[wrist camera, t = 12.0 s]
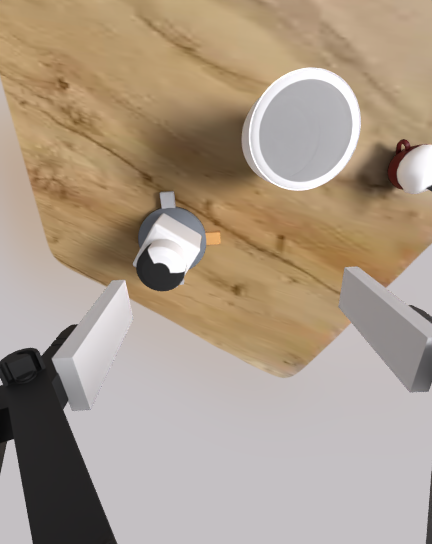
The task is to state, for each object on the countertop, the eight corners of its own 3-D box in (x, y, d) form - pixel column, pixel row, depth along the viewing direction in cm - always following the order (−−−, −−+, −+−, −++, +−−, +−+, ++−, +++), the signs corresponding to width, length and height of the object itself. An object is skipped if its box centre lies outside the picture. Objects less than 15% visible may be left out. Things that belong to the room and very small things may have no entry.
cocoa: (380, 143, 39) (441, 135, 28) (425, 132, 39) (506, 119, 28) (381, 207, 43) (436, 222, 32) (422, 197, 42) (493, 209, 31)
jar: (228, 170, 40) (237, 179, 26) (245, 90, 36) (266, 52, 22) (295, 185, 41) (337, 200, 28) (318, 109, 37) (382, 83, 23)
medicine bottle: (181, 269, 45) (171, 306, 34) (143, 249, 44) (120, 281, 33) (202, 235, 43) (199, 263, 32) (163, 211, 41) (145, 233, 30)
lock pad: (132, 193, 41) (129, 194, 40) (217, 188, 41) (217, 189, 40) (147, 283, 48) (146, 286, 47) (222, 279, 48) (222, 282, 46)
